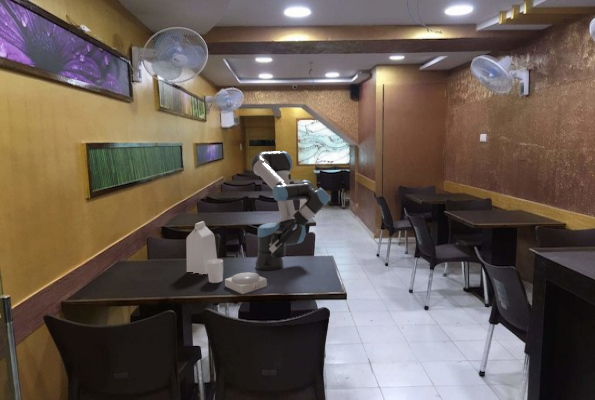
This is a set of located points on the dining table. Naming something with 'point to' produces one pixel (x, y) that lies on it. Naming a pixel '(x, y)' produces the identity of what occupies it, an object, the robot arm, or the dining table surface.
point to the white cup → (215, 270)
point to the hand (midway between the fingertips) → (271, 248)
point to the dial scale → (245, 282)
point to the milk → (200, 248)
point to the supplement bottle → (281, 249)
